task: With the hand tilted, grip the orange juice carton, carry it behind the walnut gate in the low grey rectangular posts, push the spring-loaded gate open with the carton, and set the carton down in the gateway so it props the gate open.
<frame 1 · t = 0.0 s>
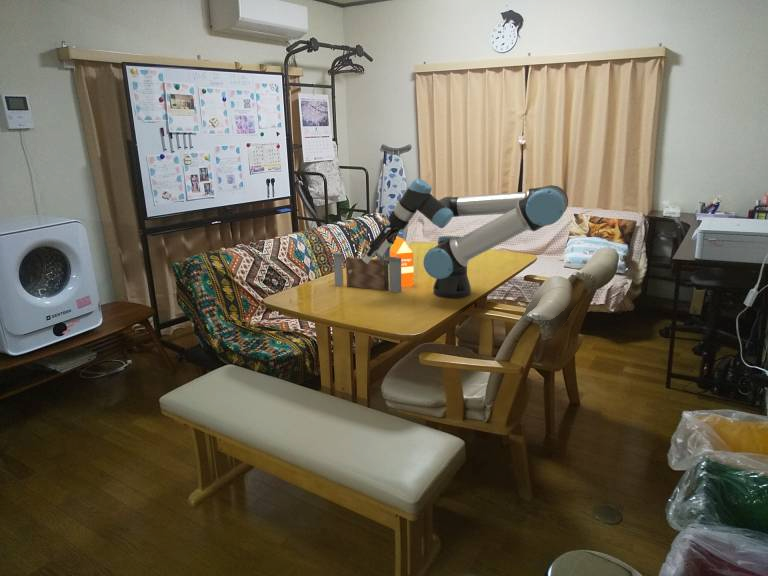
hand: (372, 257, 209), 15 cm above the table, tool tilted 35°, fingers open, 13 cm apart
grey rectangular posts: (365, 288, 222), on the table
snack cup: (385, 262, 267), on the table
gate: (366, 273, 220), point 6 cm above the table, hinge at 0.0°
orange juice: (401, 284, 227), on the table
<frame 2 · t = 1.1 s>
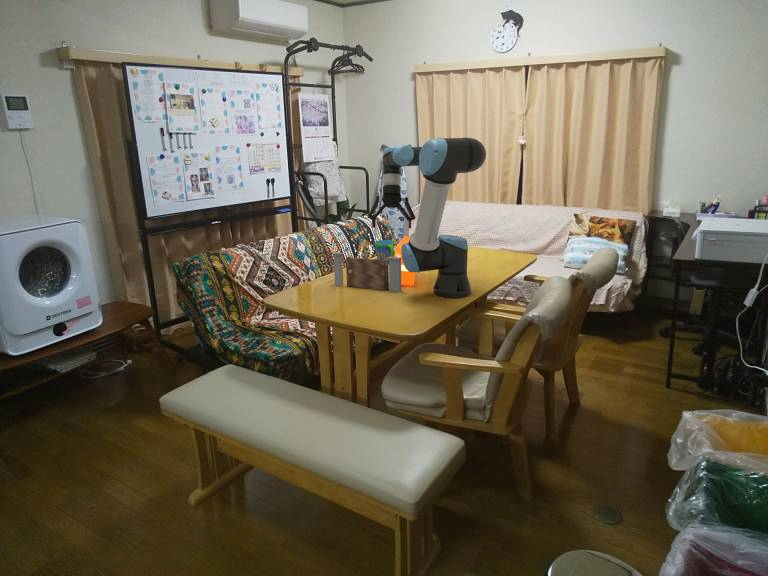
hand: (391, 236, 222), 21 cm above the table, tool tilted 15°, fingers open, 13 cm apart
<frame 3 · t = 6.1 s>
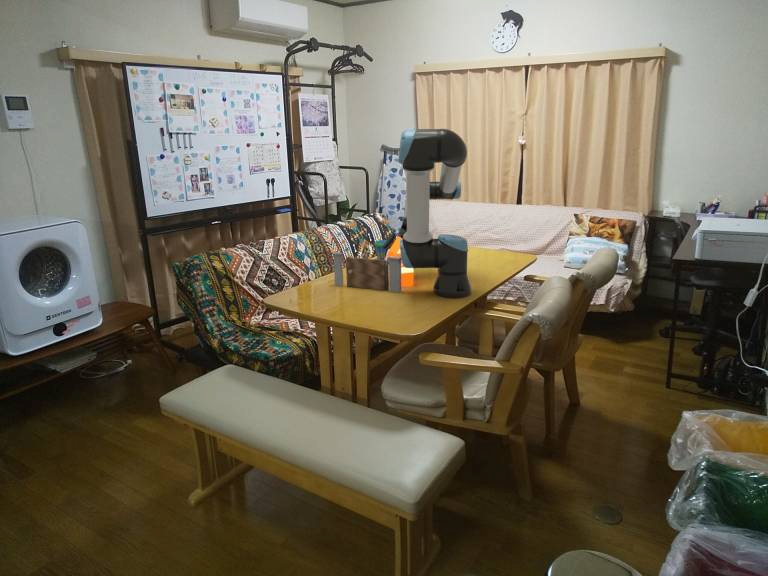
hand: (398, 264, 222), 9 cm above the table, tool tilted 45°, fingers closed on orange juice, 11 cm apart
orange juice: (401, 284, 227), on the table, touching gripper
everything else where it was.
when the fingers open (10 cm above the table, at t = 11.4 s): orange juice stays where it is, on the table.
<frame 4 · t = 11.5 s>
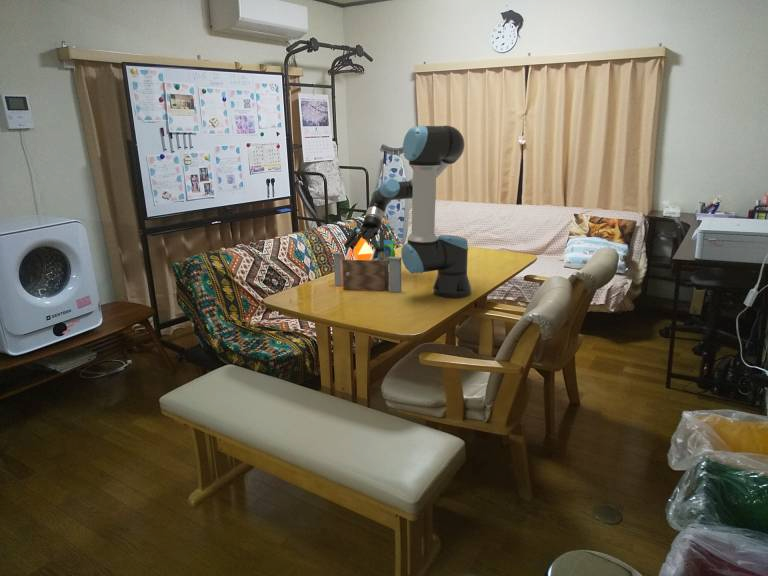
hand: (358, 263, 221), 11 cm above the table, tool tilted 45°, fingers open, 11 cm apart
gate: (365, 275, 218), point 6 cm above the table, hinge at 14.5°, touching gripper
orange juice: (364, 285, 228), on the table
everything else where it was.
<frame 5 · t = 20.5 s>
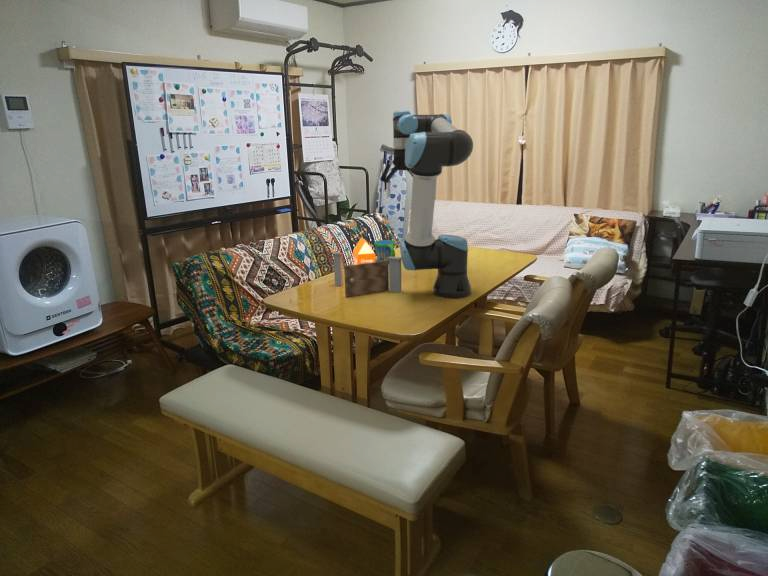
hand: (402, 197, 235), 35 cm above the table, tool pointing down, fingers open, 13 cm apart
gate: (367, 278, 212), point 6 cm above the table, hinge at 50.0°
everything else where it was.
at the end: gate at +50° (first picture: +0°); orange juice inside the target area (6.7 cm from its centre), on the table; orange juice tilted 0° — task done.
